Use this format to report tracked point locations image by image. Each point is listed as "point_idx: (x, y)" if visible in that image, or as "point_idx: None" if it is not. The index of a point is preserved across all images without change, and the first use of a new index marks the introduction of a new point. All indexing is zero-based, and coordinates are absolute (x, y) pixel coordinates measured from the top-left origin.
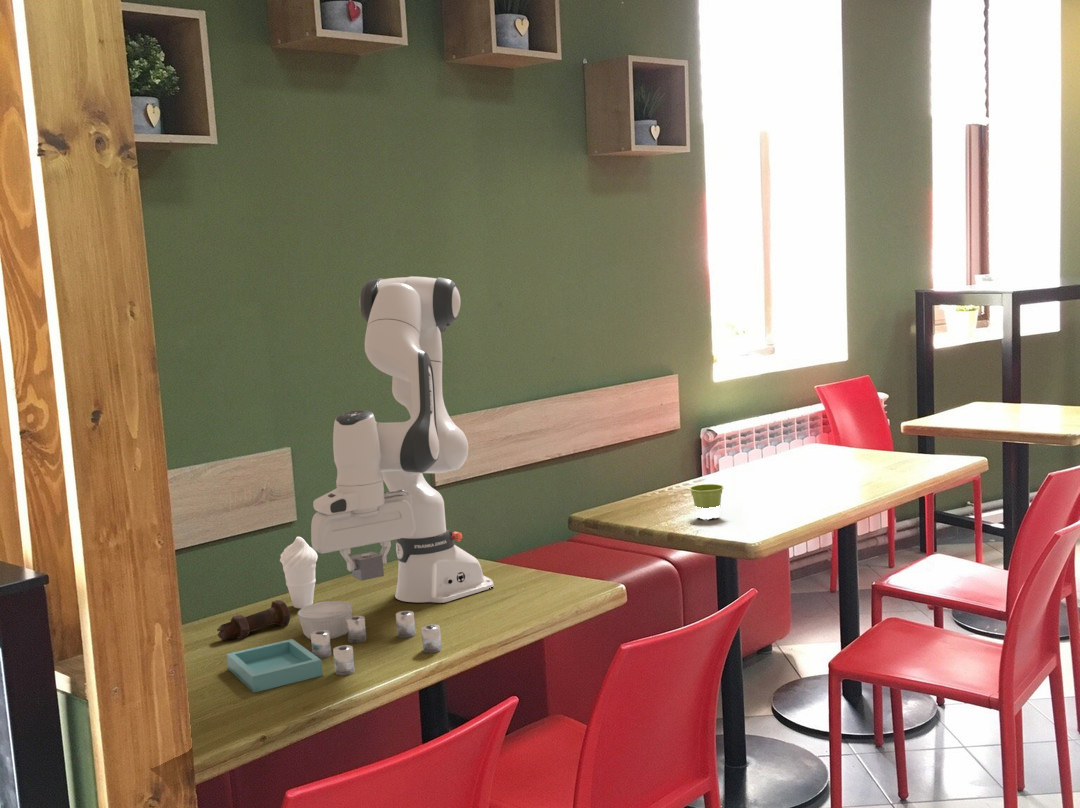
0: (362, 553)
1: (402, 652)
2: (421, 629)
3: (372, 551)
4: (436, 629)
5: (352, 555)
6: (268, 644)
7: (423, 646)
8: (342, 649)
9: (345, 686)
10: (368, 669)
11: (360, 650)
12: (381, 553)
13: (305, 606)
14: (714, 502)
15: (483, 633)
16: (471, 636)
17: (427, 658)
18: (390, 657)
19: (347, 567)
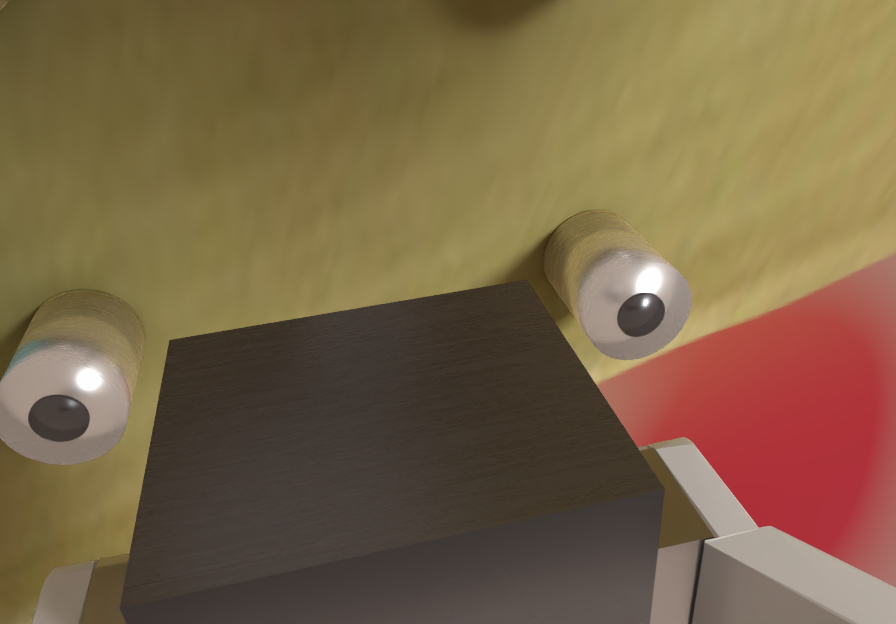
0: (423, 546)
1: (452, 205)
2: (588, 308)
3: (658, 491)
4: (646, 354)
5: (168, 607)
6: None
7: (552, 274)
8: (54, 439)
9: (73, 503)
10: None
11: (239, 14)
12: (718, 605)
13: None
14: None
15: (892, 155)
16: (829, 165)
17: None
18: (371, 246)
19: (47, 604)
